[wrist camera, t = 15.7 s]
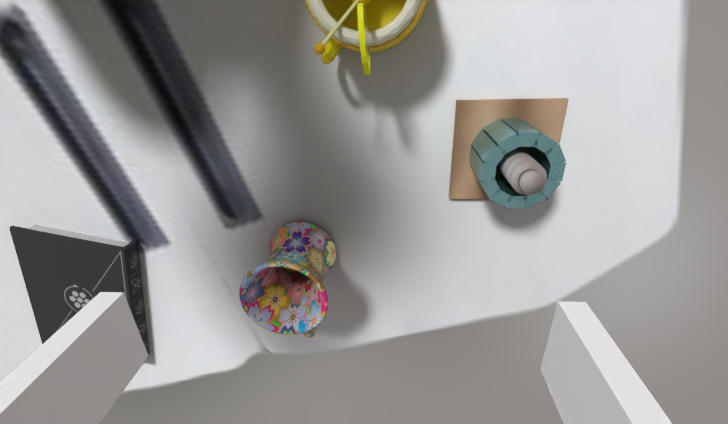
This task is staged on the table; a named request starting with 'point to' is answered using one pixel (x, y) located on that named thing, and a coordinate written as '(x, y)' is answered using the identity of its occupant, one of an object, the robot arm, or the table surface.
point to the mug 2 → (363, 25)
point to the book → (76, 274)
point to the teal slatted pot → (503, 140)
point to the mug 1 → (291, 281)
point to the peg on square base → (515, 163)
